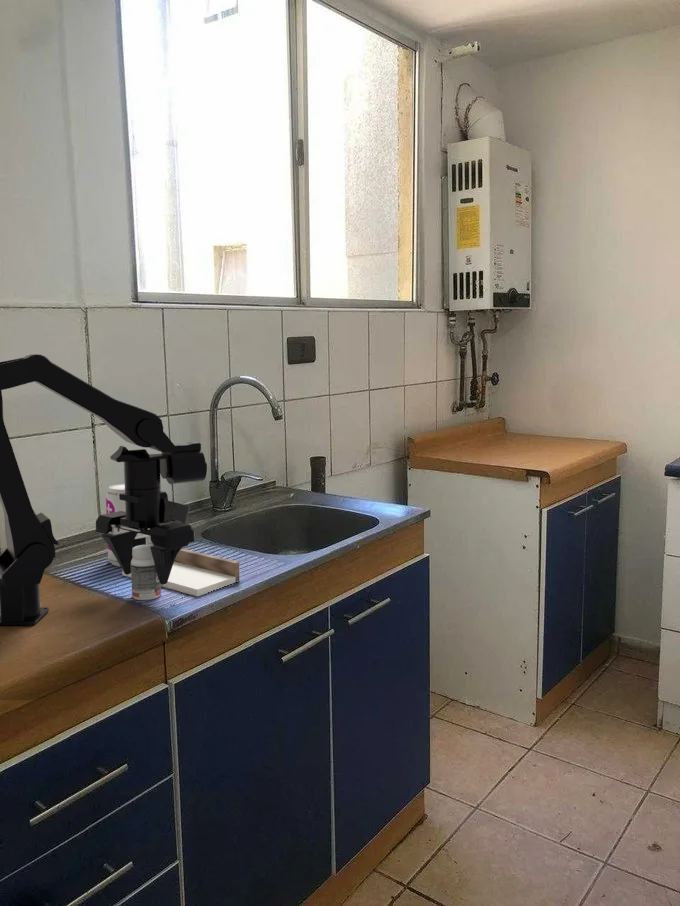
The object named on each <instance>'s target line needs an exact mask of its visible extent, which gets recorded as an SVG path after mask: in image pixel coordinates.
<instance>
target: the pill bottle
mask: <svg viewBox="0 0 680 906" xmlns="http://www.w3.org/2000/svg"><path fill="white" fill-rule="evenodd" d="M151 546H154V545H153V544H151V545H139V546H135V547H133V548H132V555H133V557H134V558H133V559H132V560H131V597H132V598H133V599H134V600H136V601H137V600H138V601H151V600H154V599H155V600H156V599H158V598H159V597H160V596H161V594H162V586H161V584H160V581H159V578H158V575H157V571H156V568H155V564H154V560H153V556H152V553H151V549H150V547H151Z"/></svg>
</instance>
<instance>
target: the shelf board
mask: <svg viewBox="0 0 680 906" xmlns="http://www.w3.org/2000/svg"><path fill="white" fill-rule="evenodd" d="M121 570H122V569H121ZM121 575H122V576H123V577H124V576H125V577H128V578H131V573H130V574H127V575H126V574H125V573H124V572H123V570H122V571H121ZM237 581H239V582H240V561H238V560H233V559H227V558H225V557H224V558H223V557H219V556H215V555H212V554H207V553H202V552H198V551H193V550H190V549H185V548H182V549H181V550H180V551H179V552H178V554H177V556H176V558H175V561H174V563H173V566H172V569H171V572H170V575H169V578H168V582H167V583H166V584H163V585H162V584H161V588H162V587H163V588H166V589H170V590H173V591H176V592H181V593H183V594H188V595H191V596H194V597H201V596H203V595H206V594H208V592H209V593H211V591H212V592H214V591H213V590H215V591H217V590H216V589H218V590H220V589H219V588H221V589H223V588H222V587H224V586H227V585H229V584H232V583H234V582H237ZM232 585H233V584H232ZM229 586H230V585H229ZM227 587H228V586H227ZM224 588H225V587H224Z"/></svg>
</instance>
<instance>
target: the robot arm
mask: <svg viewBox="0 0 680 906" xmlns="http://www.w3.org/2000/svg"><path fill="white" fill-rule="evenodd" d="M30 383H36V384H38V385H39V386H42V387H43V388H45V389H47V390H49V391H50V392H51V393H54V394H55V395H57V396H59V397H61V398H63V399H64V400H66V401H68V402H70V403H72V404H74V405H75V406H77V407H78V408H80V409H82V410H84V411H86V412H88V413H89V414H92V415H93V416H95V417H96V418H98V419H99V420H101V422H103V423H104V424H105V425H106V426H107V427H108V428H109V429H110V430H111V431H112V432H113V433H115V434H116V435H117V436H118V437H120V438H121V439H123V440H124V442H127V443H128V444H131V445H135V446H138V447H141V448H142V449H141V448H140V449H128V448H127V447H126V446H124V445H119V447H118V449H117V450H116V451H115V452H114V453H113V454H111V455H110V456H109V457H110V460H111V461H114V462H117V463H123V471H124V472H123V473H124V475H123V476H124V478H123V479H124V484H125V493H121V494H119V498H120V500H123V501H125V512H124V511H118V512H113V513H108V514H107V513H104V514H100V515H99V516H98V517H97V519H96V520H95V532H96V533H99V534H100V533H101V534H100V537H101V539H103V540H104V541H105V542H106V545H107V547H108V546H109V547H110V549H111V550H112V552H113V554H114V556H115V557H116V559H117V561H118V563H119V564H120V566H121V567H120V568H121V570H123V572H124V573H125V574H126V575H127V574H130V573H131V560H132V557H133V555H132V548H133V541H134V539H135V537H136V535H137V534H138V533H141V534H145V535H150V536H151V544H152V545H154V546H151V547H150V549H151V553H152V556H153V560H154V564H155V568H156V571H157V575H158V578H159V581H160V584H162V585H163V584H166V583H167V582H168V578H169V575H170V572H171V569H172V566H173V563H174V561H175V558H176V556H177V554H178V552H179V551H180V550H181V549H184V548H185V547H188V546H189V544H190V543H193V542H195V536H196V535H195V528H194V527H193V526H192V525H191V524H188V523H187V521H188V516H189V512H190V509H191V505H187V504H182V503H179V502H175V501H171V500H169V496H168V494H167V491H164V490H163V491H162V489H161V487H162V485H161V478H162V479H164V480H166V482H167V483H168V484H169V485H176V484H186V483H198V482H203V481H205V479H206V477H207V472H208V463H207V462H206V458H205V454H204V452H203V451H202V443H200V442H198V441H191V442H186V443H173V441H172V440H171V439H170V438H169V436H168V435H167V434H166V432H165V431H164V425H163V420H162V419H161V417H160V416H158V415H157V414H156V413H154V412H151V411H148V410H146V409H143V408H140V407H138V406H135V405H132V404H129V403H127V402H123V401H121V400H117V399H115V398H114V397H111V396H110V395H108V394H106V393H105V392H103V391H101V390H100V389H98V388H96V387H94V386H93V385H91V384H89V383H88V382H86V381H84V380H83V379H81V378H79V377H77V376H76V375H74V374H72V373H71V372H69V371H67V370H66V369H64V368H62V367H61V366H59V365H58V364H56V363H54V362H52V361H51V360H50V359H49V358H48V357H46V356H45V355H43V354H37V353H36V354H31V353H30V354H28V355H27V354H26V355H25V356H24V357H20V358H15V359H10V360H6V361H0V506H1V508H2V511H3V516H4V534H5V535H4V536H5V541H6V548H5V549H4V550H3V551H2V552H1V553H0V626H33V625H35V624H37V623H38V622H39V621H40V620H41V619H42V618H43V617H44V616H45V615H46V614H47V613H48V612H49V611H50V607H47V606H46V607H45V606H44V607H43V606H42V607H41V597H40V596H41V594H40V591H41V590H40V584H41V581H42V579H43V576H44V574H45V570H46V569H47V568H48V567H49V566H50V565H51V564H52V562H53V561H54V559H55V558H56V553H57V552H56V546H55V545H59V542H58V541H57V539H56V538H55V536H54V534H53V528H52V527H53V525H52V522H51V519H50V518H49V517H48V516H46V515H45V514H44V513H43V512H39V513H38V514H37V513H36V512H35V510H34V509H33V506H32V503H31V501H30V497H29V493H28V491H27V488H26V485H25V483H24V480H23V476H22V473H21V471H20V467H19V465H18V461H17V458H16V456H15V451H14V450H13V449H14V448H13V446H12V444H11V443H12V442H11V440H10V436H9V433H8V430H7V428H6V425H5V421H4V402H3V401H4V400H3V394H2V392H3V390H7V389H8V390H9V389H12V388H16V387H20V386H22V385H23V386H24V385H27V384H30ZM144 448H145V449H144ZM146 448H149V449H151V450H154V451H157V452H161V453H149V452H148V450H147V449H146ZM148 528H149V529H150V530H149V529H148Z"/></svg>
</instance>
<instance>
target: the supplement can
mask: <svg viewBox="0 0 680 906" xmlns="http://www.w3.org/2000/svg"><path fill="white" fill-rule="evenodd" d="M121 493H125V483H119V484H113V485H110V486H108V490H107V492H106V494H105V505H106V506H105V508H106V509H105V511H106V513H105V514H108V513H113V512H118V511H124V512H125V501H123V500H120V498H119V494H121ZM148 529H149V528H148ZM149 530H150V529H149ZM139 545H152V541H151V536H150V535H145V534H141V533H138V534H137V535H136V537H135V539H134V541H133V547H135V546H139ZM133 558H134V557H132V559H133ZM107 561H108V562H109V563H111V565H112V566H115V567H120V568H121V566H120V564H119V563H118V561H117V559H116V557H115V556H114V554H113V552H112V550H111V549H110V547H109V546H108V545H107Z"/></svg>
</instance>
